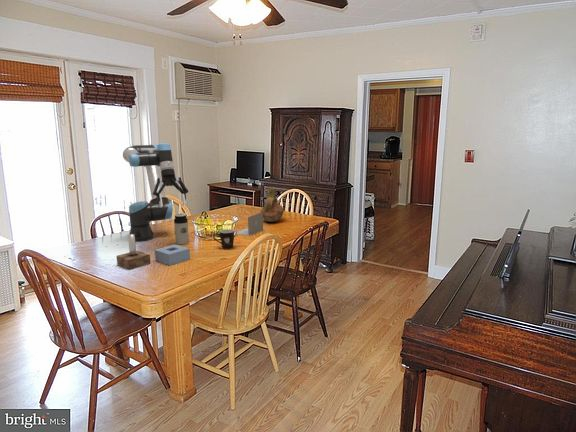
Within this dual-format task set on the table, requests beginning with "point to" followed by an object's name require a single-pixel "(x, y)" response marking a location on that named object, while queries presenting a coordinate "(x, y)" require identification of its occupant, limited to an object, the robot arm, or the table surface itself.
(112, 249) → the table surface
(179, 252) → the socket block
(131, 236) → the pin
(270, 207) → the ceramic vessel
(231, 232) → the coffee mug
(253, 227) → the laptop
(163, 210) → the robot arm
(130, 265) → the block
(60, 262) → the table surface
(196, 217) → the table surface
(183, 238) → the travel mug
